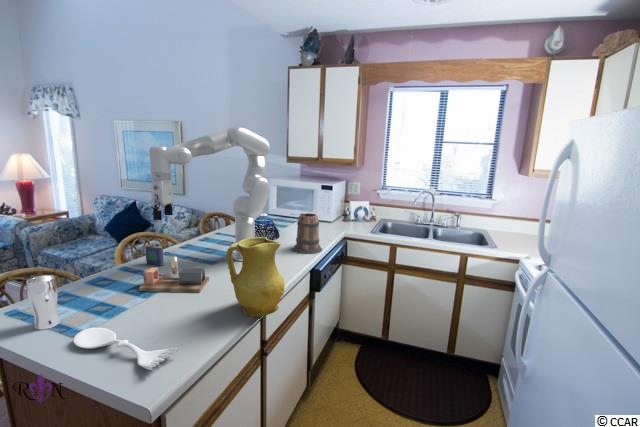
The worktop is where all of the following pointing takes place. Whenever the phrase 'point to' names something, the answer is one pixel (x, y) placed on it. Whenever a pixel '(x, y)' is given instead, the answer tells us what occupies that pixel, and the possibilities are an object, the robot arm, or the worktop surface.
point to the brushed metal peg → (173, 271)
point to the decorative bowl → (266, 227)
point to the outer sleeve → (191, 276)
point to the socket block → (151, 275)
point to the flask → (154, 255)
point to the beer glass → (43, 301)
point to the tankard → (307, 234)
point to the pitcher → (256, 276)
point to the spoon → (106, 337)
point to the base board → (171, 286)
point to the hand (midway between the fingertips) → (163, 217)
